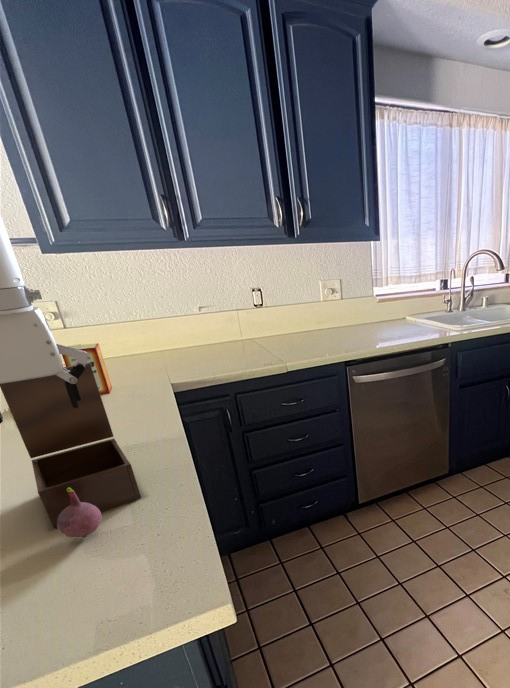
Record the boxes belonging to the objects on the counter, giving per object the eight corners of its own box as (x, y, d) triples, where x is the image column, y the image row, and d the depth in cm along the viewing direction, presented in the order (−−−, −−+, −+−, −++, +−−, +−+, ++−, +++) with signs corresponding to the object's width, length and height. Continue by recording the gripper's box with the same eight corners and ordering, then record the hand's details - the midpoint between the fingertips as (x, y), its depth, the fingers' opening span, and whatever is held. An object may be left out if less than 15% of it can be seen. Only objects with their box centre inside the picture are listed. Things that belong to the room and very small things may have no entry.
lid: (90, 363, 86) (86, 358, 89) (-4, 379, 77) (-4, 373, 81) (113, 436, 93) (109, 429, 96) (30, 458, 84) (29, 450, 88)
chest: (141, 497, 86) (130, 464, 82) (53, 528, 77) (37, 492, 74) (124, 468, 97) (114, 438, 93) (45, 492, 88) (31, 459, 85)
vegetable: (115, 528, 77) (98, 480, 73) (88, 550, 72) (68, 501, 67) (86, 524, 78) (67, 478, 74) (57, 547, 73) (35, 498, 68)
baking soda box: (112, 387, 149) (98, 342, 142) (109, 393, 144) (95, 346, 137) (80, 391, 146) (64, 345, 139) (77, 397, 140) (60, 349, 133)
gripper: (66, 293, 68) (98, 394, 75) (-86, 304, 58) (-33, 420, 65) (72, 298, 63) (105, 406, 70) (-94, 311, 53) (-36, 436, 60)
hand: (39, 413), depth 67 cm, fingers open, 9 cm apart
